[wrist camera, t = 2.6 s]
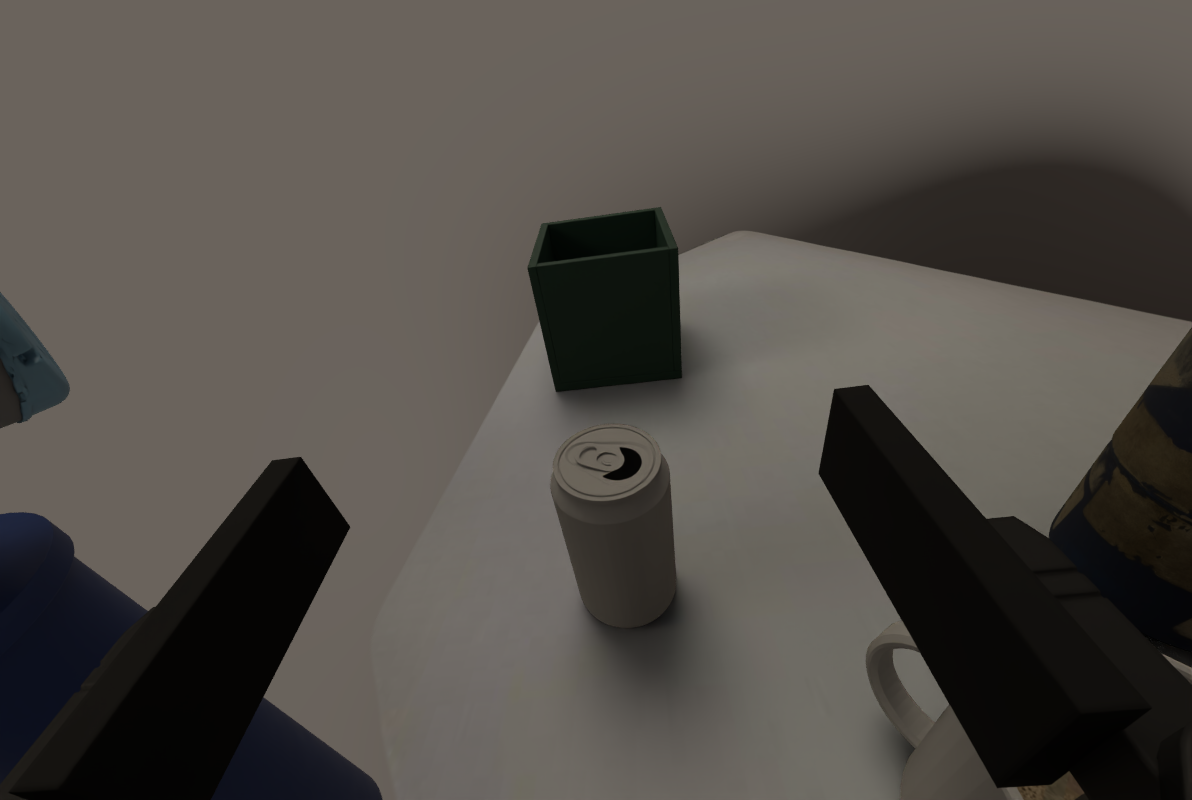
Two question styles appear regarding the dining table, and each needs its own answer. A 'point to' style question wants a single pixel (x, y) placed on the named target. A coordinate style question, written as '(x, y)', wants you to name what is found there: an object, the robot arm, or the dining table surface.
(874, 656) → the mug
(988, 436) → the dining table surface
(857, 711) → the dining table surface
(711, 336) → the dining table surface
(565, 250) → the waste bin
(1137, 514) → the canister
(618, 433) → the beverage can
